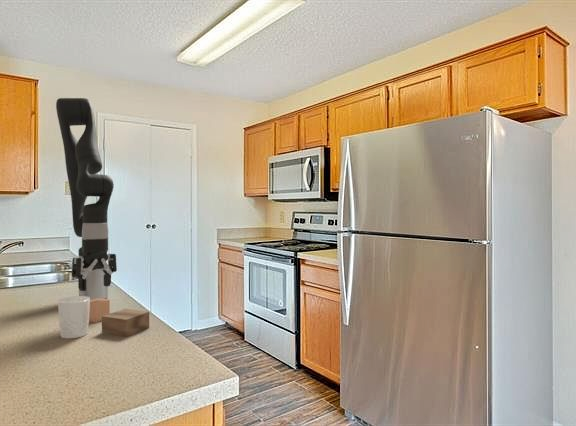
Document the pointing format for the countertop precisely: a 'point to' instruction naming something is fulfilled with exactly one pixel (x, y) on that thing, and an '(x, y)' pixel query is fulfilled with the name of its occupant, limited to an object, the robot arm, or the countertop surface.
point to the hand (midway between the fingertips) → (95, 288)
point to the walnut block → (125, 322)
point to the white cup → (74, 316)
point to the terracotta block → (98, 309)
